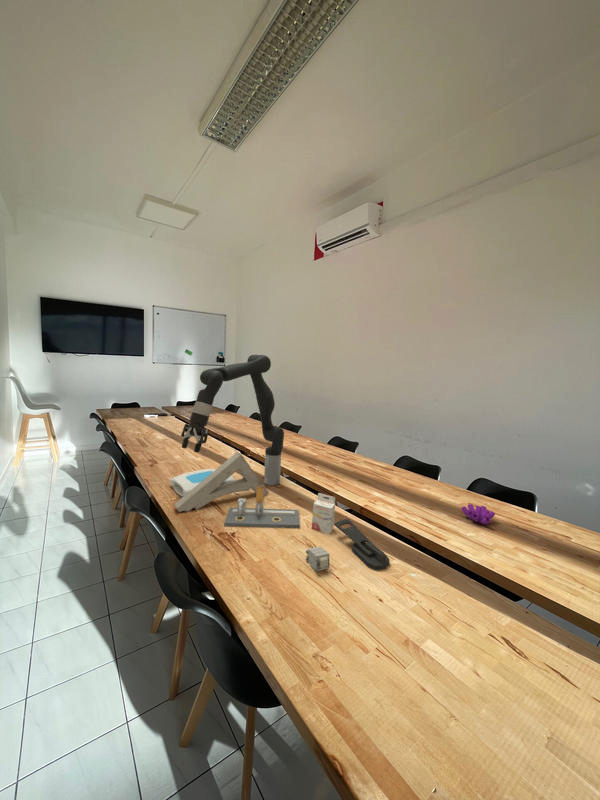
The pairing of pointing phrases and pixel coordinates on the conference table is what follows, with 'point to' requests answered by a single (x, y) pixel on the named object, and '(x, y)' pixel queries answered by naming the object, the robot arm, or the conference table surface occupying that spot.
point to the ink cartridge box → (323, 513)
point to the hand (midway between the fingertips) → (189, 450)
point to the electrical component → (317, 557)
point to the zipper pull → (364, 547)
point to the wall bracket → (211, 488)
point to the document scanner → (192, 480)
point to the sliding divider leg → (259, 500)
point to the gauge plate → (261, 517)
